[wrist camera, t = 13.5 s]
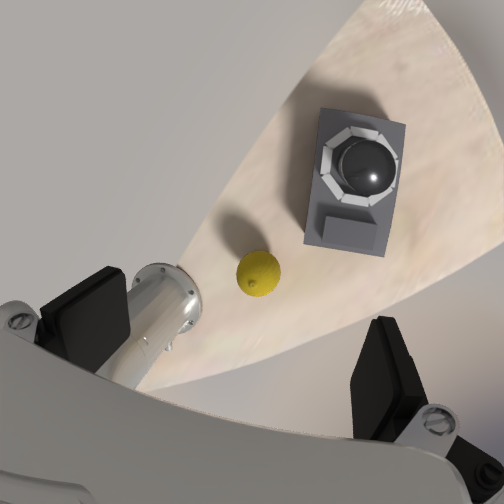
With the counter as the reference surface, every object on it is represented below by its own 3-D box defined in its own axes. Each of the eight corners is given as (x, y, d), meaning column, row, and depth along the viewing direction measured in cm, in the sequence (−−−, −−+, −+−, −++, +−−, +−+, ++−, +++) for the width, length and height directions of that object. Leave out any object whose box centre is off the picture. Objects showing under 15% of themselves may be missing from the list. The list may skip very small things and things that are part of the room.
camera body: (376, 245, 38) (386, 261, 32) (304, 233, 40) (302, 247, 34) (394, 128, 33) (409, 123, 27) (319, 113, 34) (321, 105, 28)
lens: (388, 163, 30) (406, 165, 23) (361, 196, 32) (373, 206, 25) (354, 134, 30) (364, 128, 23) (327, 168, 32) (331, 171, 25)
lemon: (281, 282, 42) (274, 309, 35) (243, 278, 43) (229, 303, 36) (284, 245, 41) (278, 265, 33) (244, 241, 42) (229, 260, 34)
